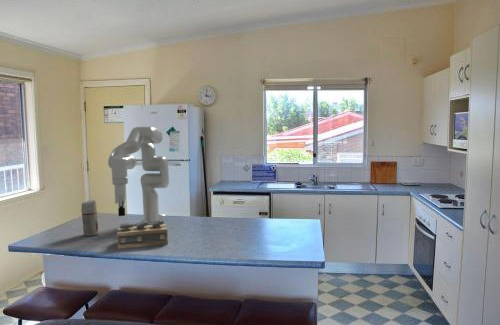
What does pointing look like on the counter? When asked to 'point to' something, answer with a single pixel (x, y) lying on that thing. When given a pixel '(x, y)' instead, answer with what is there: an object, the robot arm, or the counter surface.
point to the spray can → (89, 218)
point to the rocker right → (158, 222)
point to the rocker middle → (142, 224)
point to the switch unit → (142, 236)
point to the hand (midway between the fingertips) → (121, 215)
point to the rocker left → (126, 225)
